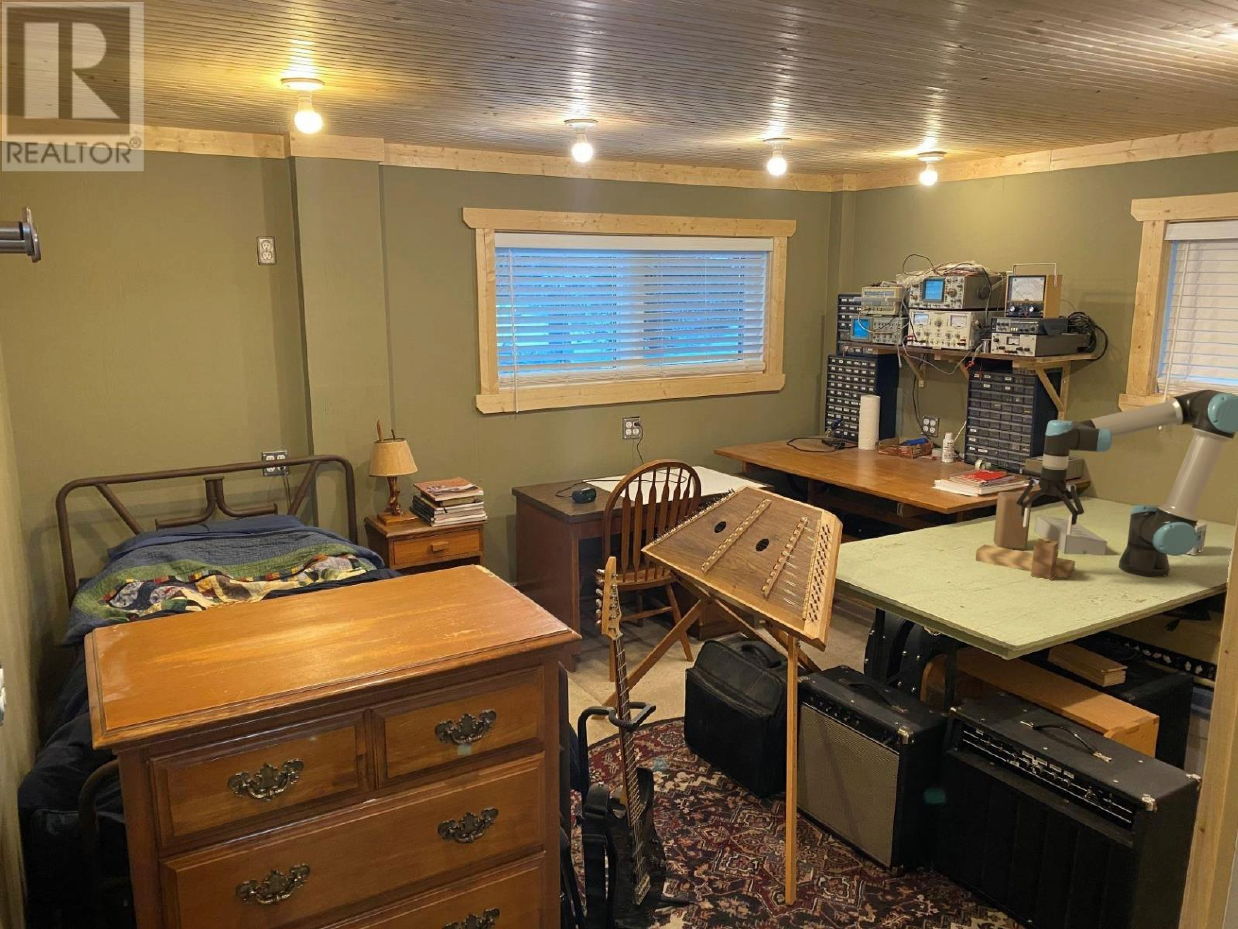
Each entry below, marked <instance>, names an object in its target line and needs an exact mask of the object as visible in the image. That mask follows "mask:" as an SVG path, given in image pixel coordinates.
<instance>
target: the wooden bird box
mask: <svg viewBox="0 0 1238 929" xmlns="http://www.w3.org/2000/svg"><path fill="white" fill-rule="evenodd" d="M1032 553H1033V561H1032V570H1031V571H1030V577H1031V576H1032V577H1031V578H1034V577H1036V578H1035V579H1039V578H1044V579H1049V580H1050V581H1051V580H1052V579H1053V578H1055V577H1056V576H1055V568H1056V559H1057V558H1059V549H1058V542H1056V541H1050V539H1049V538H1044V539H1043V538H1038V539H1037V540H1035V541H1034V543H1033V552H1032ZM1051 578H1052V579H1051ZM1044 579H1043V580H1044ZM1049 580H1048V581H1049Z"/></svg>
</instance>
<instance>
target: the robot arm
mask: <svg viewBox="0 0 1238 929" xmlns="http://www.w3.org/2000/svg"><path fill="white" fill-rule="evenodd" d="M1172 424H1174V425H1175V426H1182V425H1188V424H1189V425H1190V424H1191V425H1192V426H1191V430H1192V432H1193V437H1192V440H1191V442H1190V444H1189V447H1188V449H1187V451H1186V454H1185V457H1184V459H1183V462H1182V464H1181V465H1180V468H1179V471H1178V474H1177V476H1176V479H1175V481H1174V483H1173V485H1172V487H1171V490H1170V492H1169V495H1168V497H1167V500H1166V502H1165V503H1164V504H1163V505H1155V504H1154V505H1153V504H1135V505H1133V506H1132V508H1131V512H1130V519H1129V528H1128V537H1127V543H1126V544H1127V545H1126V547H1125V549H1124V551H1123V553H1122V555H1121V556H1120V558H1119V561H1118V568H1119V569H1120V570H1122V571H1124V572H1126V573H1130V574H1134V575H1136V576H1137V575H1138V576H1142V577H1143V576H1144V577H1152V578H1153V577H1154V576H1163V577H1165V576H1164V575H1167V576H1169V575H1170V571H1171V566H1170V562H1169V558H1168V556H1172V557H1173V556H1178V557H1179V556H1181V555H1186V554H1185V553H1187V552H1189V551H1190V550H1192V549H1193V547H1194V546H1195V544H1196V542H1197V533H1196V530H1195V526H1196V524H1197V522H1199V519H1198V516H1197V515H1196V511H1197V510H1198V507H1199V505H1200V503H1201V501H1202V498H1203V496H1204V493H1205V490H1206V489H1207V486H1208V484H1209V482H1210V479H1211V476H1212V474H1213V473H1214V469H1215V467H1216V465H1217V463H1218V461H1219V458H1220V455H1221V453H1222V451H1223V449H1224V446H1225V444H1226V443H1228V442H1230V441H1233V440H1234V438H1235V435H1236V433H1237V432H1238V395H1237V394H1234V393H1232V392H1225V391H1219V390H1215V389H1202V390H1196V391H1192V392H1188V393H1184V394H1179V395H1177V396H1172V397H1169V398H1168V399H1167V401H1164V402H1160V403H1159V402H1158V403H1156V404H1151V405H1147V406H1143V407H1142V406H1141V407H1138V408H1133V409H1129V410H1125V411H1121V412H1115V413H1111V414H1107V415H1103V416H1099V417H1093V418H1091V419H1086V420H1081V421H1077V420H1071V421H1070V420H1062V419H1053V420H1050V421H1048V423H1047V426H1046V430H1045V434H1044V435H1045V439H1044V440H1045V441H1044V451H1043V455H1042V467H1041V472H1040V480H1037V479H1036V478H1034V477H1033V478H1031V479H1030V480H1029V482H1028V486H1027V487H1026V488H1025V490H1024V491H1023V492H1022V493H1023V494H1022V495H1021V497H1020V498H1019V499H1018V501H1017V502H1016V503H1017V504H1018V505H1020V506H1022V511H1021V516H1023V517H1024V522H1023V527H1026V526H1027V525H1028V517H1029V509H1030V507H1027V506H1028V505H1029V504H1030V503H1031V502H1032V503H1033V501H1035V500H1036V499H1038V498H1039V497H1040V496H1041V495H1042V494H1044V495H1046V496H1052V497H1057V496H1058V497H1059V498H1060V499H1061V500H1062V502H1063V503H1064V505H1065V506H1066V508H1067V509H1068V511H1070V514H1069V516H1068V520H1069V523H1068V530H1067V535H1070V534H1071V533H1072V525H1075V524H1076V523H1078V522H1077V520H1078V515H1083V514H1084V513H1085V509H1084V507H1083V505H1082V501H1081V499H1080V497H1079V495H1078V492H1077V484H1076V483H1074V484H1067V475H1068V469H1067V468H1068V466H1069V458H1070V451H1073V452H1075V451H1079V452H1093V453H1094V452H1095V453H1099V452H1100V453H1101V452H1102V453H1104V452H1105V453H1106V452H1108V451H1109V450H1110V449H1111V447H1112V445H1113V438H1114V437H1118V436H1123V435H1127V434H1131V433H1135V432H1136V433H1137V432H1140V431H1144V430H1145V431H1147V430H1149V429H1150V430H1151V429H1155V428H1158V427H1163V426H1168V425H1172ZM1037 485H1038V486H1039V488H1040V489H1039V490H1037V492H1036V493H1034V495H1031V497H1030V499H1028V500H1027V501H1026V502H1023V501H1024V499H1025V498H1026V496H1027V495H1028V496H1029V494H1030V492H1031V491H1032V489H1033V488H1034V487H1036V486H1037ZM1066 489H1067V491H1068V492H1070V495H1071V498H1072V500H1073V503H1074V504H1073V503H1072V502H1071V500H1070V499H1069V497H1068V496H1067V494H1066V493H1065V491H1066ZM1032 503H1031V504H1032ZM1074 505H1075V506H1074ZM1168 574H1169V575H1168Z"/></svg>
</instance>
